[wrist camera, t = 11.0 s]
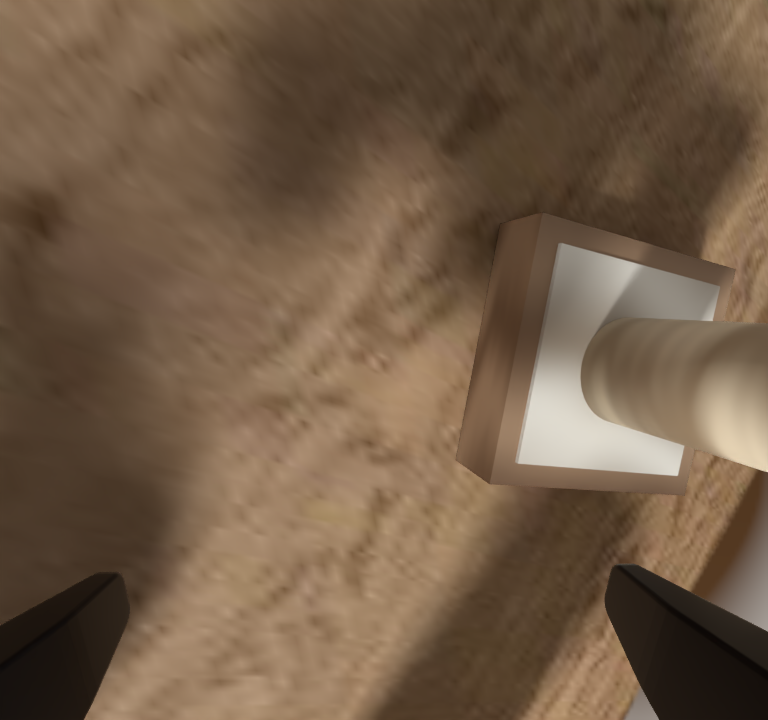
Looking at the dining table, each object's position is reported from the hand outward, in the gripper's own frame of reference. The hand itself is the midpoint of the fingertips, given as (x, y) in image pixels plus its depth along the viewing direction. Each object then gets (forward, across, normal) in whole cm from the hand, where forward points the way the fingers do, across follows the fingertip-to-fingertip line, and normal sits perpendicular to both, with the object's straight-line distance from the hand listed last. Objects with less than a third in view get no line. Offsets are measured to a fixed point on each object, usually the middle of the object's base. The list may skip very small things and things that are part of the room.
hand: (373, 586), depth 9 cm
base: (+15, +10, -1) cm, 18 cm away
